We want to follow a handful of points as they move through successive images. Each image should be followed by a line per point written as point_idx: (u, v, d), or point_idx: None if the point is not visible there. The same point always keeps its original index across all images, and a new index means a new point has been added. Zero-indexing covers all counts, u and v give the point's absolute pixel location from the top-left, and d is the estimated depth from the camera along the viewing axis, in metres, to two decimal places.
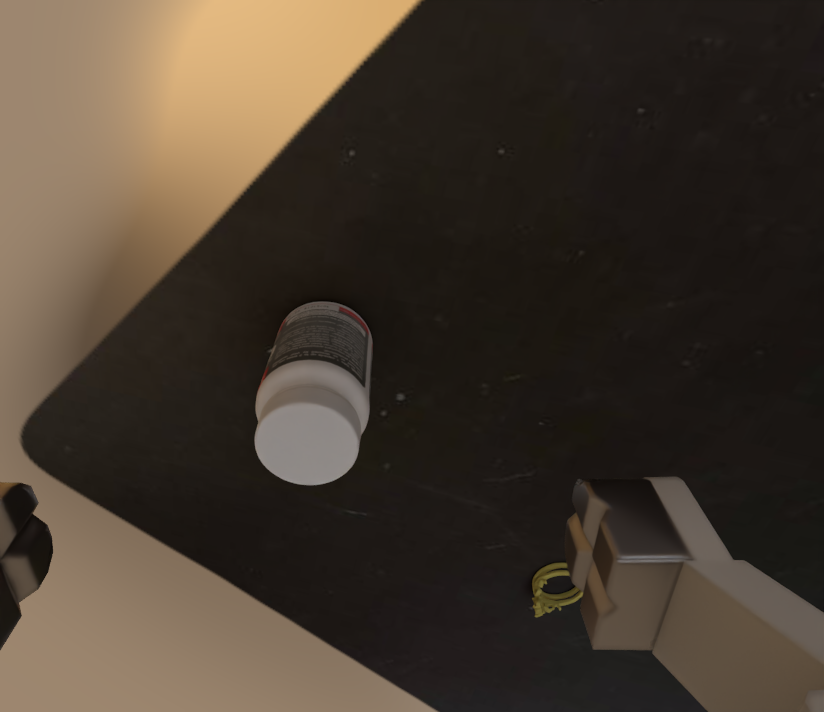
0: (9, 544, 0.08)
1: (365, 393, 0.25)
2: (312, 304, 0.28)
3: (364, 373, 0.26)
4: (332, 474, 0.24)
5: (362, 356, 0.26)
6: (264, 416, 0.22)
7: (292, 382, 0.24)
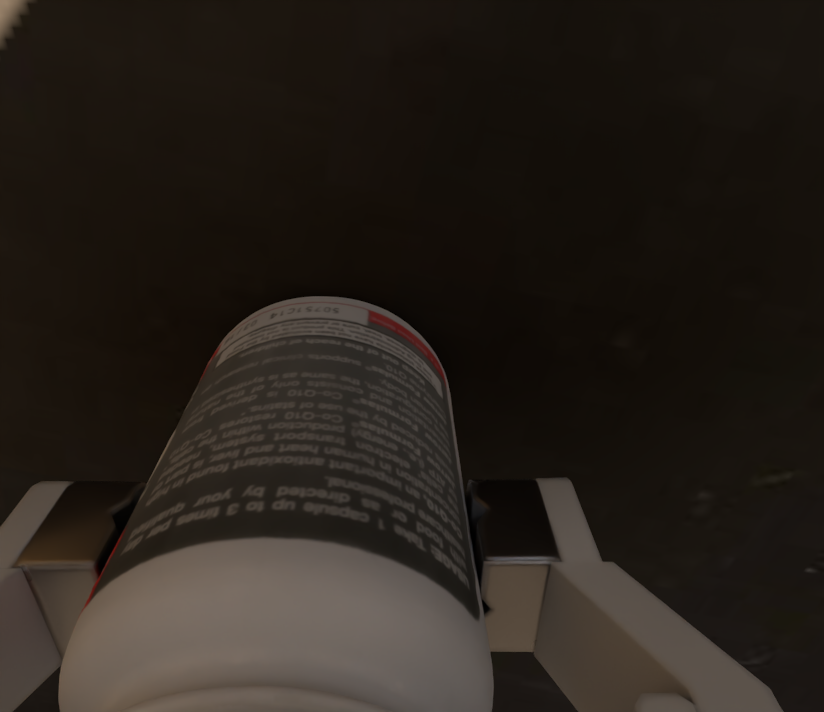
0: None
1: (485, 644, 0.06)
2: (293, 304, 0.10)
3: (466, 543, 0.07)
4: None
5: (450, 472, 0.08)
6: None
7: (185, 652, 0.05)
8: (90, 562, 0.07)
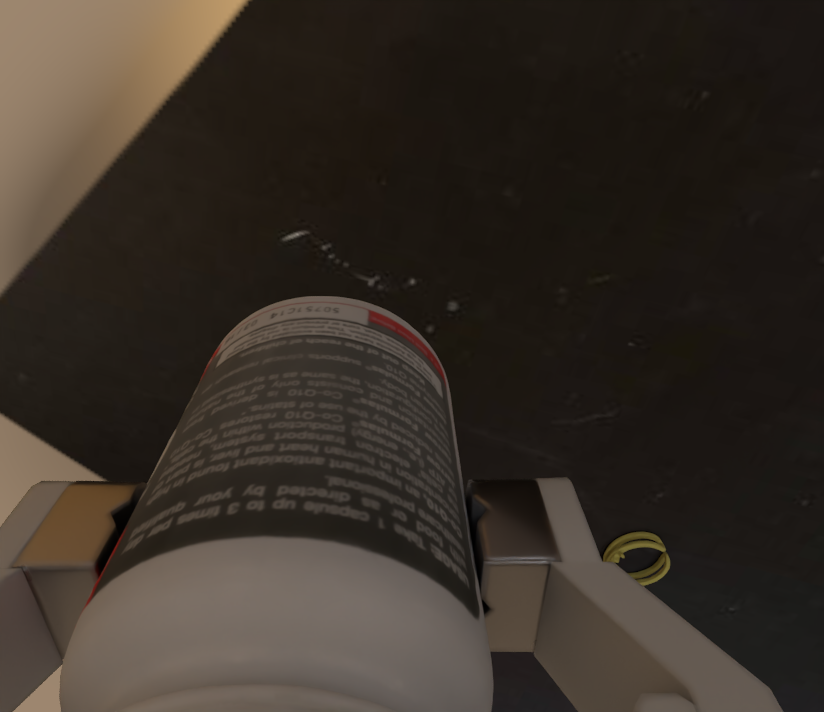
0: None
1: (484, 643, 0.06)
2: (293, 304, 0.10)
3: (466, 542, 0.07)
4: None
5: (450, 471, 0.08)
6: None
7: (186, 650, 0.05)
8: (90, 562, 0.07)
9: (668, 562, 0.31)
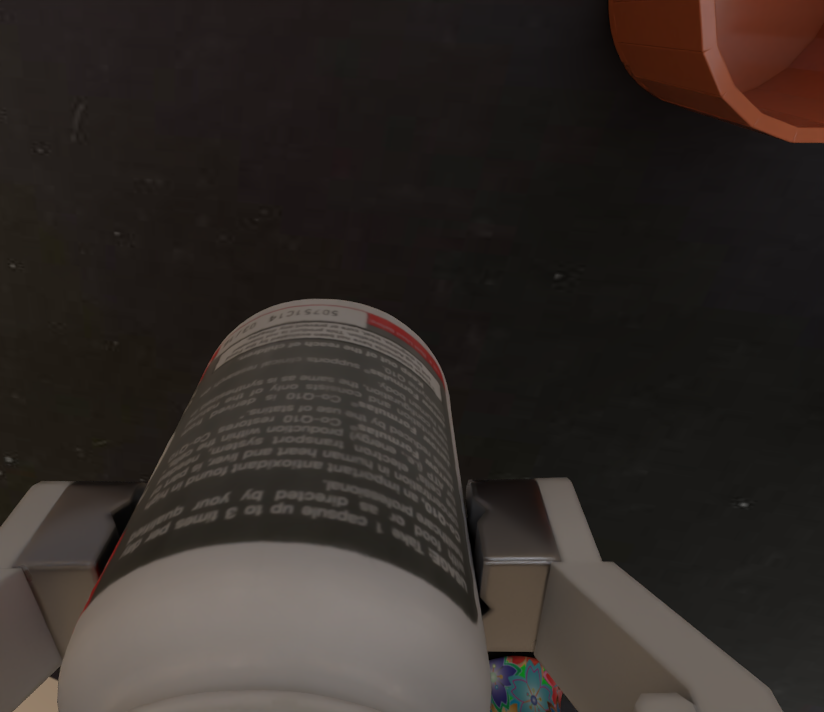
0: None
1: (482, 647, 0.06)
2: (292, 306, 0.10)
3: (464, 546, 0.07)
4: None
5: (448, 475, 0.08)
6: None
7: (183, 657, 0.05)
8: (90, 563, 0.07)
9: None
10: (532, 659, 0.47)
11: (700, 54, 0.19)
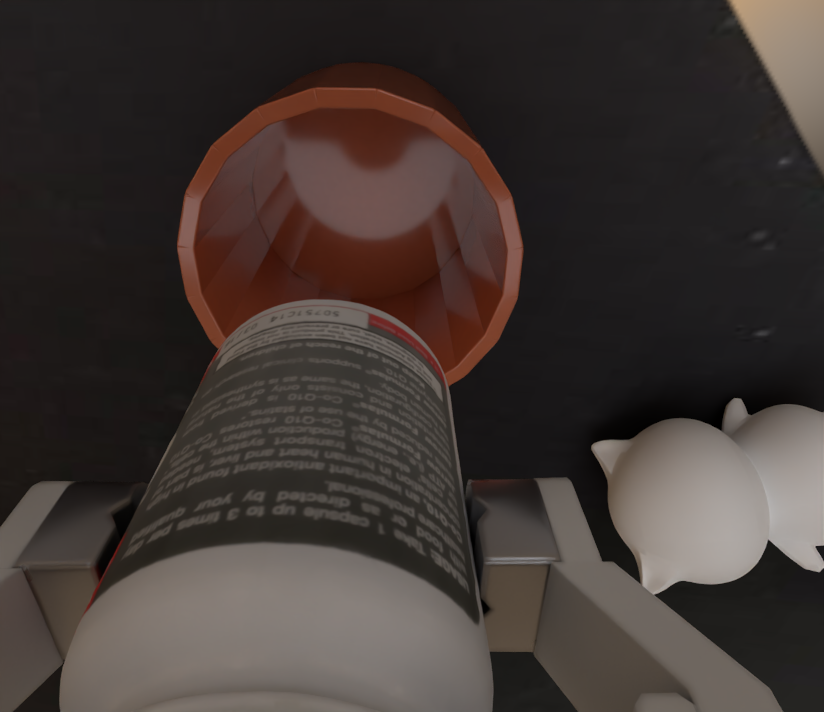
0: None
1: (484, 648, 0.06)
2: (293, 307, 0.10)
3: (466, 547, 0.07)
4: None
5: (450, 476, 0.08)
6: None
7: (185, 659, 0.05)
8: (90, 562, 0.07)
9: None
10: None
11: (212, 340, 0.19)
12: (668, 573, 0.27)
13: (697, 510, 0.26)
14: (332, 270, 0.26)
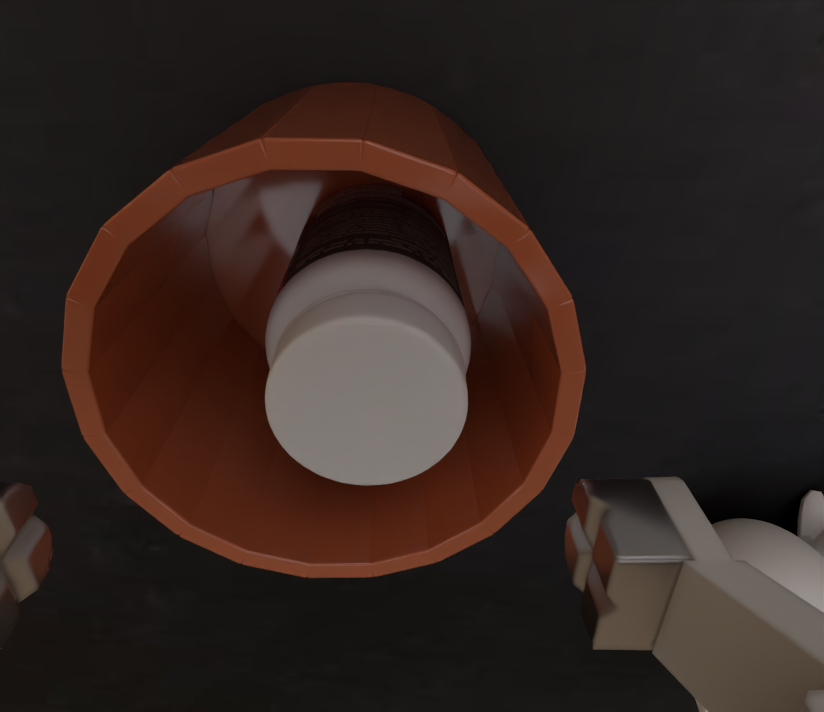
0: (9, 544, 0.08)
1: (466, 317, 0.14)
2: (357, 187, 0.17)
3: (458, 287, 0.14)
4: (412, 465, 0.12)
5: (450, 262, 0.15)
6: (285, 347, 0.11)
7: (336, 289, 0.12)
8: None
9: None
10: None
11: (128, 490, 0.13)
12: None
13: None
14: None
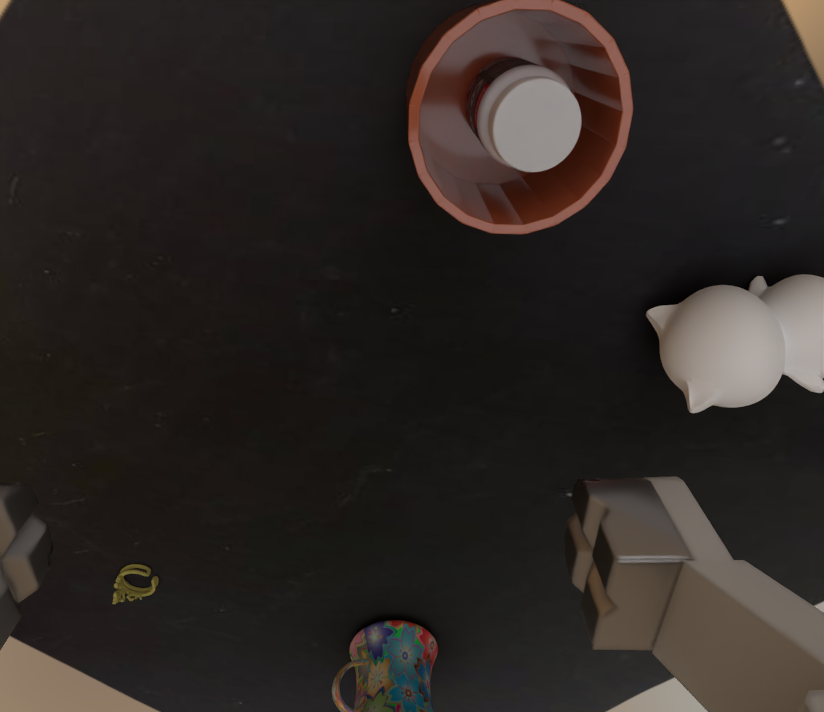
0: (9, 544, 0.08)
1: None
2: None
3: None
4: (553, 159, 0.27)
5: None
6: (506, 93, 0.26)
7: (520, 80, 0.27)
8: None
9: (152, 582, 0.53)
10: (408, 623, 0.56)
11: (418, 176, 0.28)
12: (709, 392, 0.36)
13: (732, 338, 0.35)
14: (464, 160, 0.36)
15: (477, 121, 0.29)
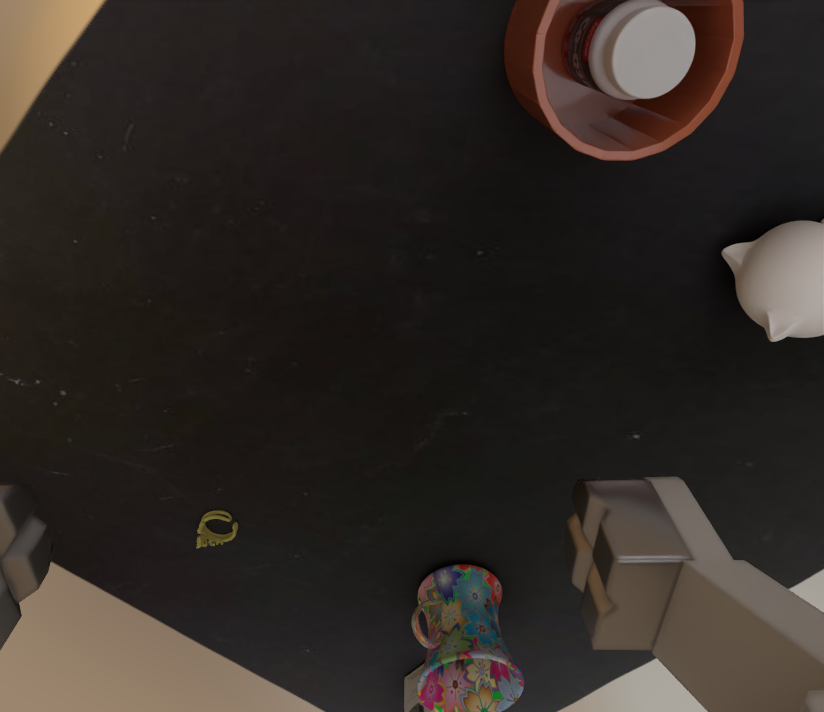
0: (9, 544, 0.08)
1: None
2: None
3: None
4: (666, 85, 0.29)
5: None
6: (627, 22, 0.28)
7: (634, 11, 0.29)
8: None
9: (233, 527, 0.55)
10: (476, 566, 0.58)
11: (538, 104, 0.30)
12: (790, 320, 0.38)
13: (815, 266, 0.37)
14: (557, 102, 0.37)
15: (589, 53, 0.31)
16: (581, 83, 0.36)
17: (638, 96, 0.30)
